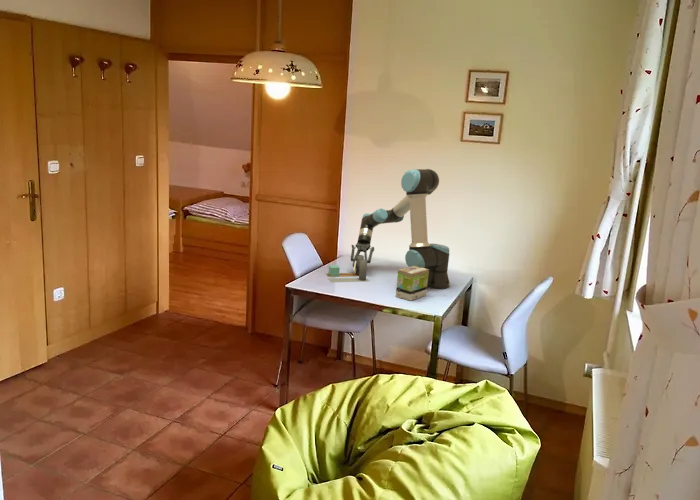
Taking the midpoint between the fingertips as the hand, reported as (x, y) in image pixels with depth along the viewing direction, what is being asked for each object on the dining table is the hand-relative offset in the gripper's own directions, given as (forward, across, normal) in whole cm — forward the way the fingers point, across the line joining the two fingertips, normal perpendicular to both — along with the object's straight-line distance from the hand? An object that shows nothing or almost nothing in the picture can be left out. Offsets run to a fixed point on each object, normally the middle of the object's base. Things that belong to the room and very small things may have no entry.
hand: (358, 272), depth 348 cm
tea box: (+18, -32, +13) cm, 39 cm away
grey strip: (+9, +4, +4) cm, 11 cm away
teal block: (+4, +13, 0) cm, 14 cm away
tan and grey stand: (+2, +7, -3) cm, 8 cm away
